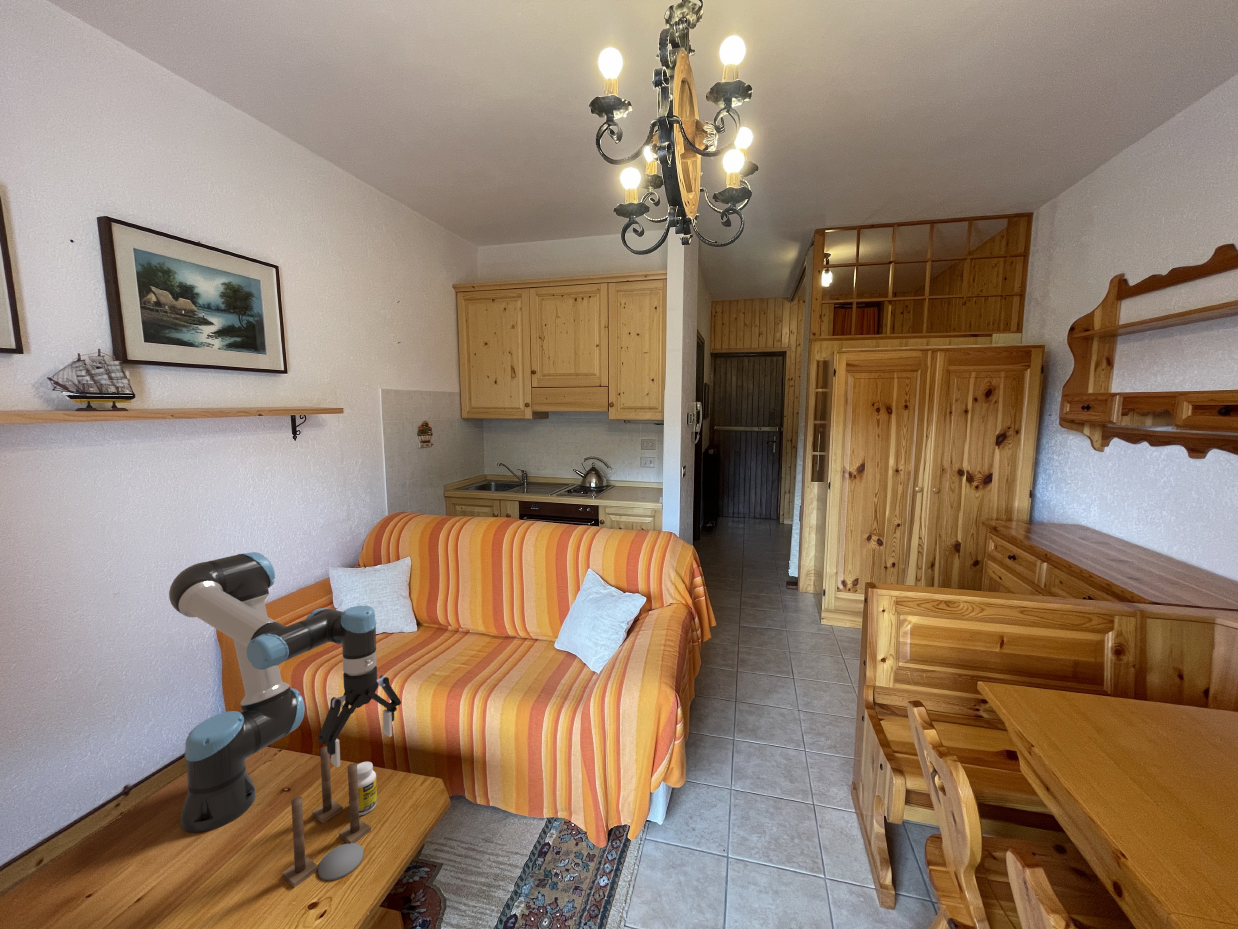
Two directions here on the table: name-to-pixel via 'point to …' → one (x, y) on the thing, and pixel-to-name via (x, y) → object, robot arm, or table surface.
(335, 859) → the coaster
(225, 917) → the table surface
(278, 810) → the table surface
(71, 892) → the table surface
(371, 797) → the pill bottle
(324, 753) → the post
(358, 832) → the post corner
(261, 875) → the table surface
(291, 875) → the post
